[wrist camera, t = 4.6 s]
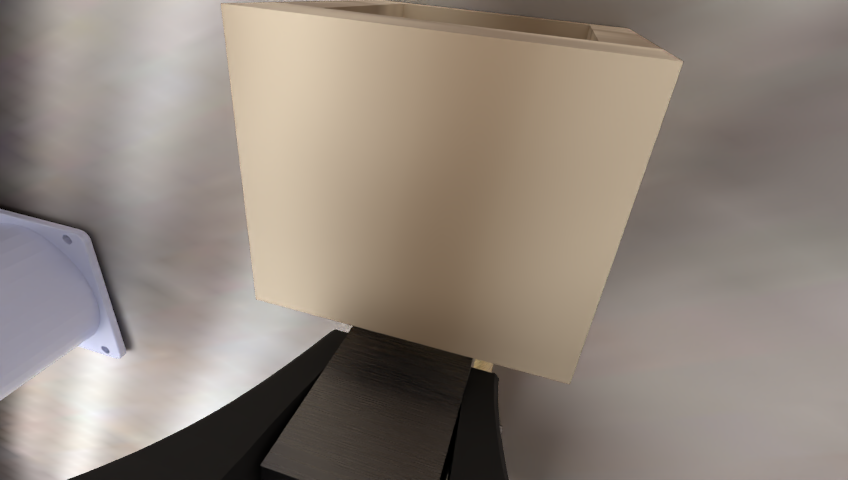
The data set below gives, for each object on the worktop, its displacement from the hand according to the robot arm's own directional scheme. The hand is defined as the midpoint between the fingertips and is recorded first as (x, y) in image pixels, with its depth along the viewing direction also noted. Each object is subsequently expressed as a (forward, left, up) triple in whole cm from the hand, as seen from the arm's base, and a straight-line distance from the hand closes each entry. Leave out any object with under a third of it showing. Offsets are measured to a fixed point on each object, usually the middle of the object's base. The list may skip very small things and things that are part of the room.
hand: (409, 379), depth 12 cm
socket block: (0, +5, -6) cm, 8 cm away
